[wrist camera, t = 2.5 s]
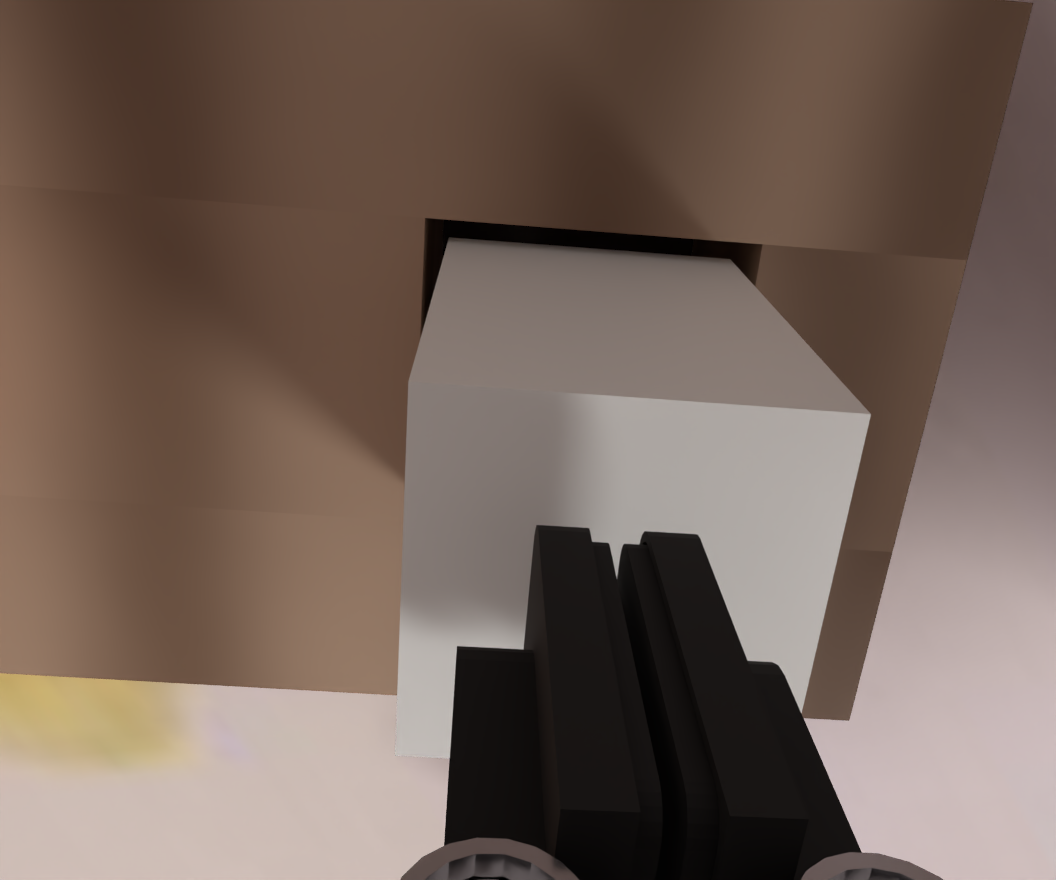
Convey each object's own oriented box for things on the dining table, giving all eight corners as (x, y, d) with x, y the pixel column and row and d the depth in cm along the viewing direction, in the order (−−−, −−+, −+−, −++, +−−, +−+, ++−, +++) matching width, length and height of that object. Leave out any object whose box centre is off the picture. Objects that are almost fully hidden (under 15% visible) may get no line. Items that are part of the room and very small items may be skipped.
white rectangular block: (730, 259, 18) (870, 414, 11) (689, 509, 20) (786, 776, 13) (449, 237, 17) (408, 381, 10) (436, 492, 19) (395, 756, 12)
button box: (896, 6, 21) (1033, 3, 16) (778, 574, 27) (849, 720, 21) (-474, -117, 20) (-854, -169, 14) (-302, 506, 25) (-529, 643, 20)
